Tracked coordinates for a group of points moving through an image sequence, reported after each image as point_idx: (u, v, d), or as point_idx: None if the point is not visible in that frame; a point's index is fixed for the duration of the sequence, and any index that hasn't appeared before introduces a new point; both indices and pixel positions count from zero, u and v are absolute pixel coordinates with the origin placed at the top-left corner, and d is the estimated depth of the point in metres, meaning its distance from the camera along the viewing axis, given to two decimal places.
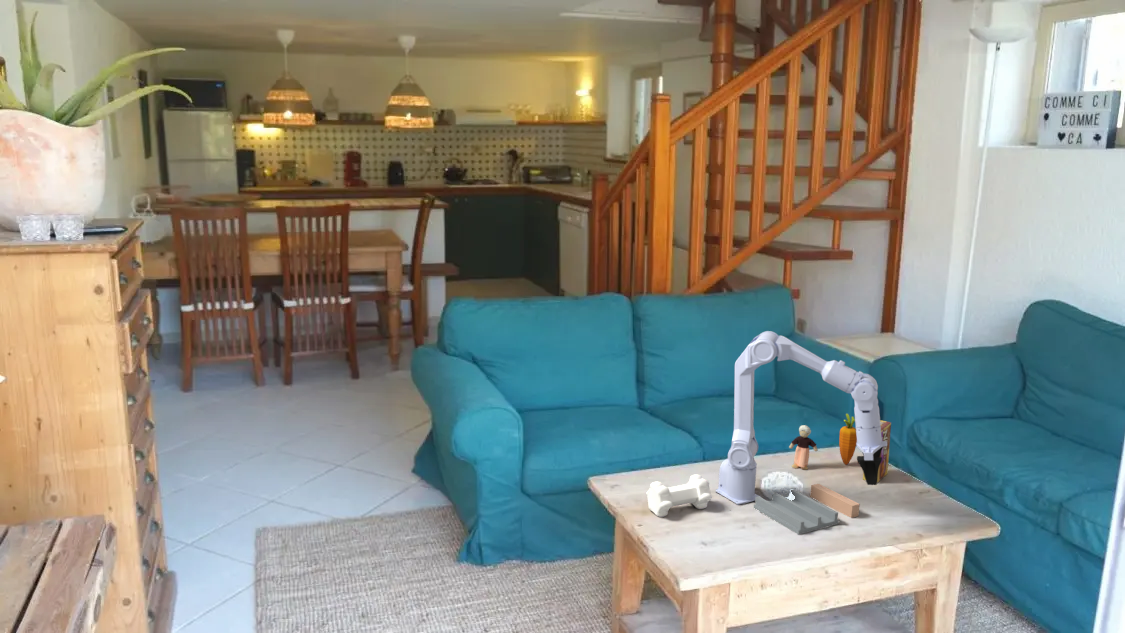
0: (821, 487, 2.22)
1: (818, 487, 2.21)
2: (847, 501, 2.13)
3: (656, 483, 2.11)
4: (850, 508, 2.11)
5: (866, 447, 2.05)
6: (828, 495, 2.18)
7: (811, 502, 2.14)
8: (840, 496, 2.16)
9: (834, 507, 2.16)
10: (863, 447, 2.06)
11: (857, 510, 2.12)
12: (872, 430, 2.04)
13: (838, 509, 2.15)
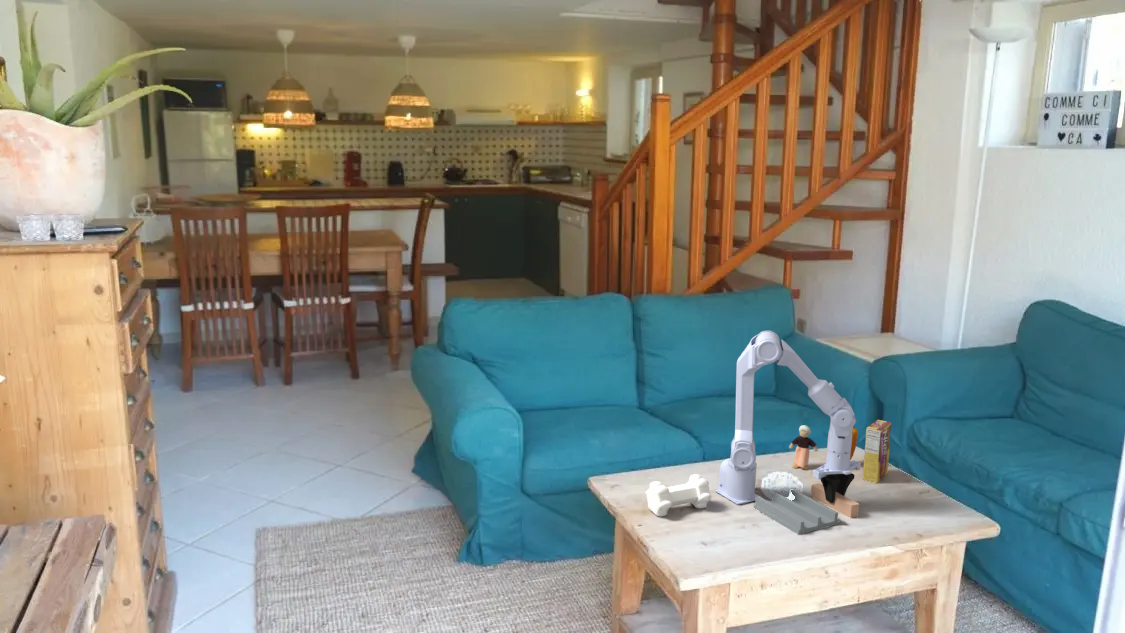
0: (822, 486, 2.22)
1: (818, 487, 2.21)
2: (847, 501, 2.13)
3: (656, 482, 2.12)
4: (849, 508, 2.11)
5: (826, 468, 2.15)
6: None
7: (811, 502, 2.14)
8: (840, 496, 2.16)
9: (834, 507, 2.16)
10: (825, 467, 2.16)
11: (857, 510, 2.12)
12: (834, 454, 2.13)
13: (838, 509, 2.15)
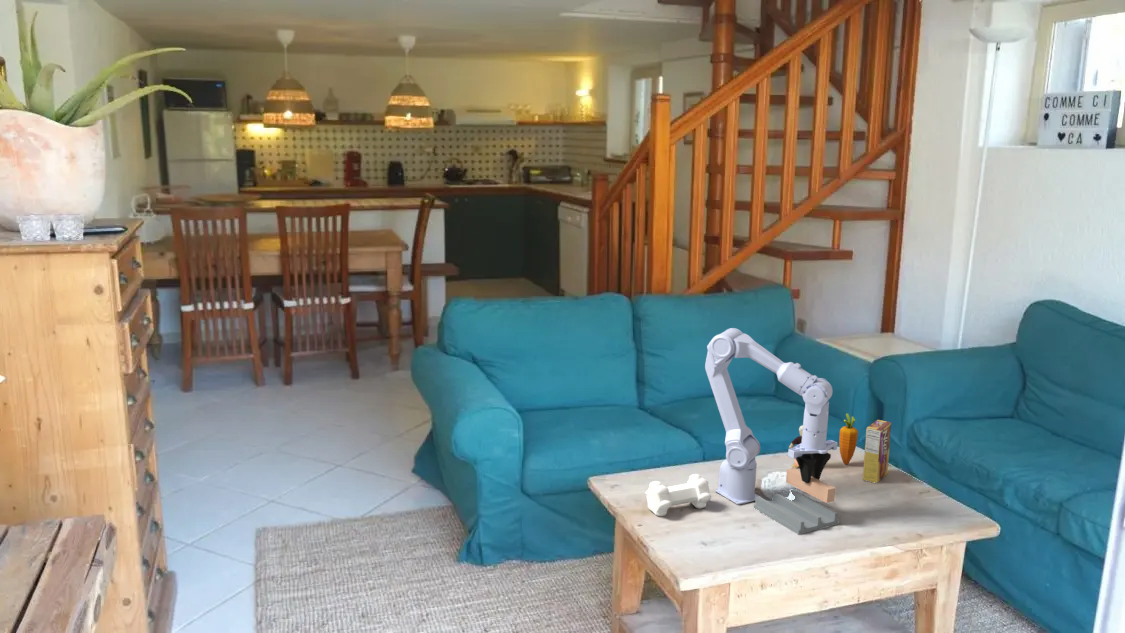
0: (797, 471, 2.16)
1: (794, 471, 2.16)
2: (823, 485, 2.08)
3: (655, 482, 2.12)
4: (826, 492, 2.06)
5: (802, 447, 2.09)
6: None
7: (811, 502, 2.14)
8: (816, 480, 2.11)
9: (810, 491, 2.11)
10: (801, 446, 2.10)
11: (833, 494, 2.07)
12: (810, 433, 2.07)
13: (814, 493, 2.10)
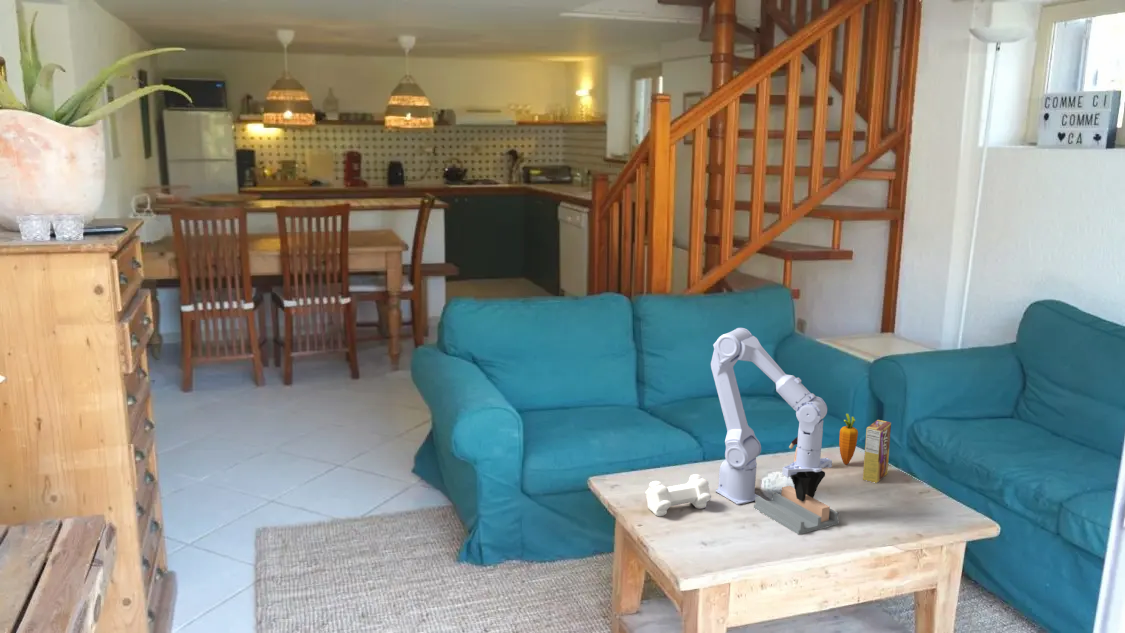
0: (792, 489, 2.17)
1: (789, 489, 2.16)
2: (817, 504, 2.08)
3: (655, 482, 2.12)
4: (820, 511, 2.06)
5: (796, 465, 2.10)
6: None
7: None
8: (810, 498, 2.11)
9: None
10: (795, 464, 2.10)
11: (827, 513, 2.07)
12: (804, 451, 2.07)
13: None
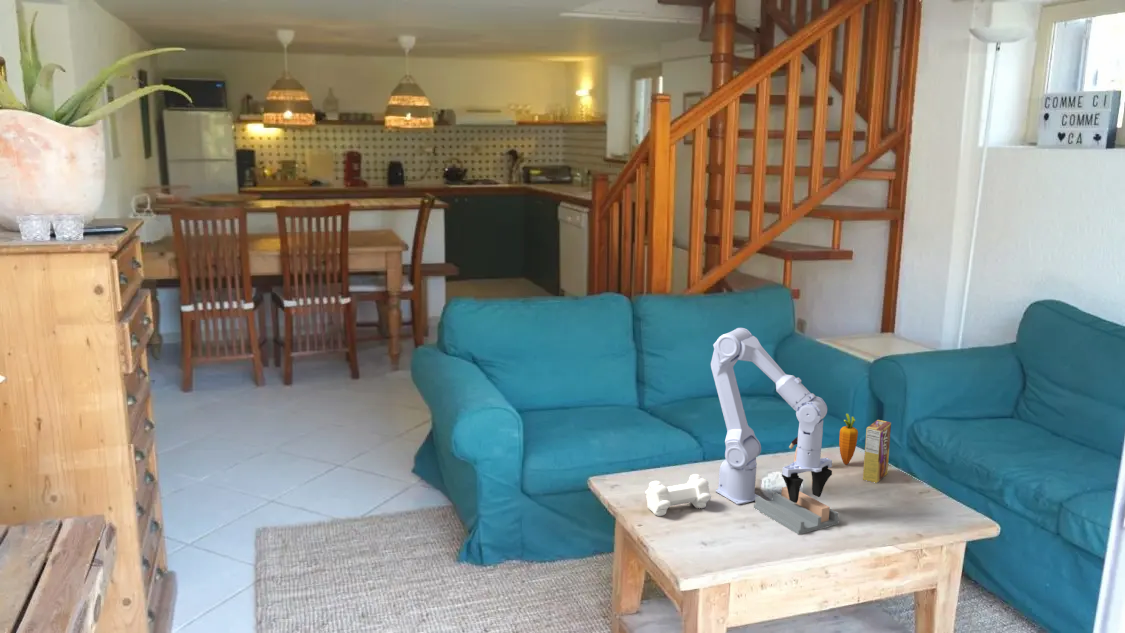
0: None
1: None
2: (817, 504, 2.08)
3: (655, 482, 2.12)
4: (820, 512, 2.06)
5: (796, 465, 2.10)
6: (798, 498, 2.13)
7: None
8: (810, 499, 2.11)
9: None
10: (795, 464, 2.10)
11: (827, 513, 2.07)
12: (804, 451, 2.07)
13: None
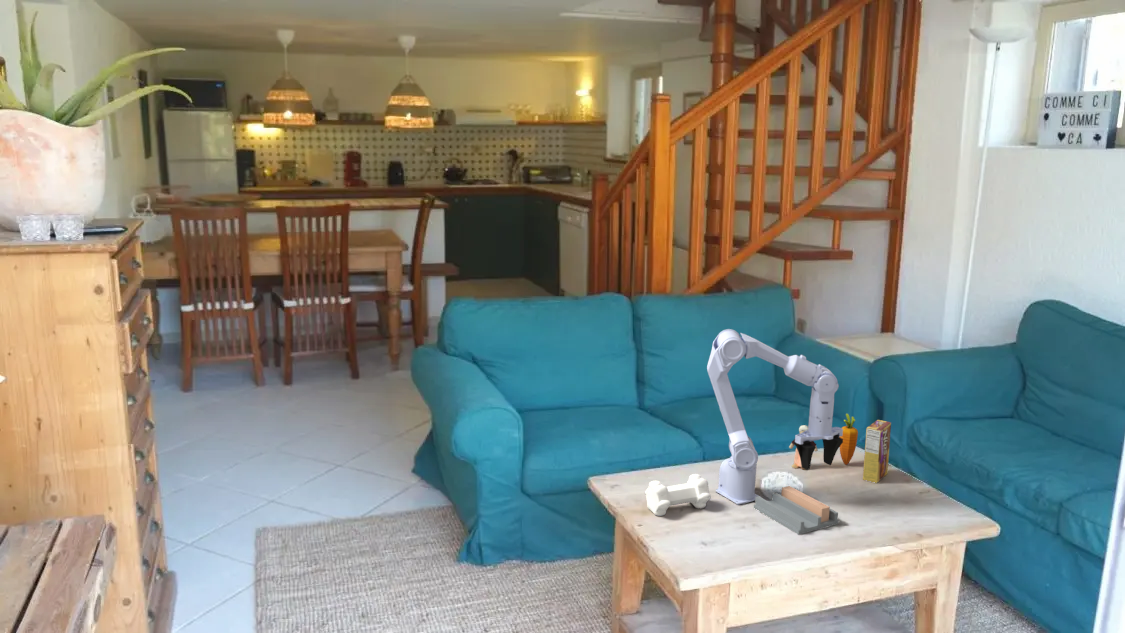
0: (792, 489, 2.17)
1: (789, 489, 2.16)
2: (817, 504, 2.08)
3: (655, 482, 2.12)
4: (820, 512, 2.06)
5: (809, 433, 2.17)
6: (798, 498, 2.13)
7: None
8: (810, 499, 2.11)
9: None
10: (807, 432, 2.17)
11: (827, 513, 2.07)
12: (816, 420, 2.14)
13: None
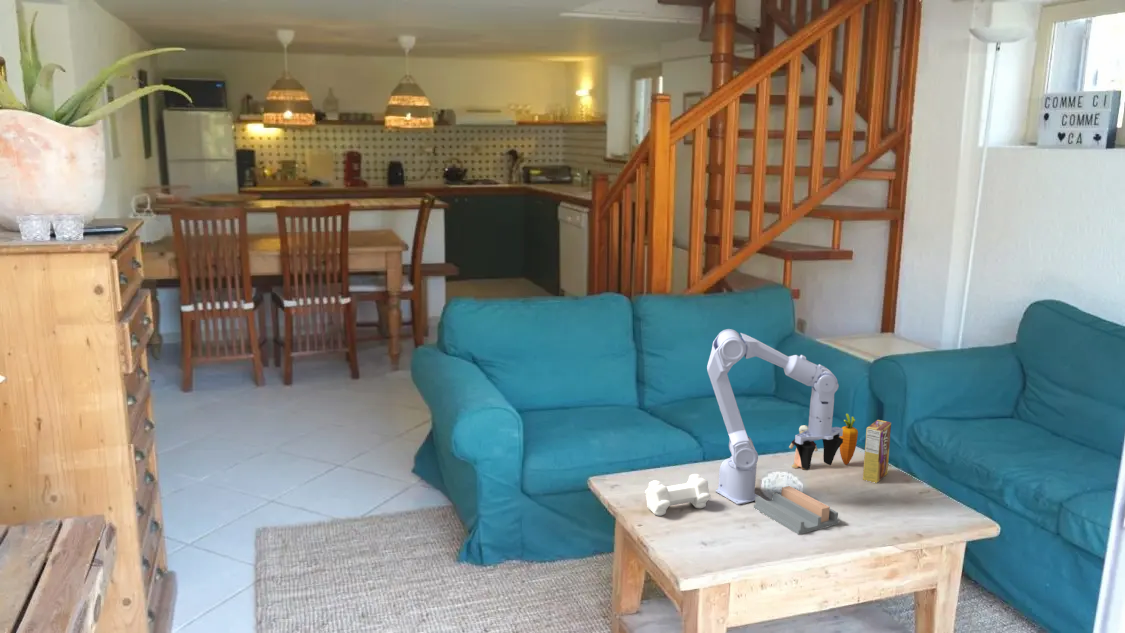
0: (792, 489, 2.17)
1: (789, 489, 2.16)
2: (817, 504, 2.08)
3: (655, 482, 2.12)
4: (820, 512, 2.06)
5: (809, 433, 2.17)
6: (798, 498, 2.13)
7: None
8: (810, 499, 2.11)
9: None
10: (807, 432, 2.17)
11: (827, 513, 2.07)
12: (816, 420, 2.14)
13: None
